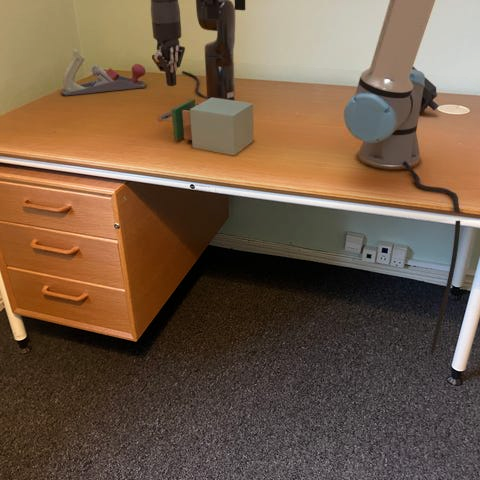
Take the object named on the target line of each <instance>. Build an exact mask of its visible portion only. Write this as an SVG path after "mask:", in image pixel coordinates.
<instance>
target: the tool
mask: <svg viewBox="0 0 480 480" xmlns="http://www.w3.org/2000/svg"><path fill="white" fill-rule="evenodd" d="M412 69H414V70H418V69H417V68H416V67H415V66H413V67H412ZM424 84H425V87H424V89H423V95H422V101H421V107H420V113H422V112H424V111H425V110H426V109H427V108H428V107H429V108H430V109H431V110H432V111H436V110H437V109H438V108H439V104H437V103H436V101H434V99H436V98H437V97H438V93H437V86H435V85H434V83H432V82H431V81H430V80H429V79H428V78H427V77H425V81H424Z"/></svg>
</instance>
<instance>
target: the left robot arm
mask: <svg viewBox="0 0 480 480" xmlns="http://www.w3.org/2000/svg"><path fill="white" fill-rule="evenodd" d="M218 4H219V19H208V17H207V0H195V9H196V10H195V11H196V18H197V22H198V25H199V26H200V28H201V29H203V30H205V31H211V32H216V39H215V40H213V41H210V42H207V43H206V44H205V45H204V48H203V49H204V65H205V84H206V86H205V87H206V95H205V96H204V95H203V94H202V93H201V92H200V91H198V90H199V85H200V80H199V78H198V77H197V76H196V75H194V74H193V73H190V72H187V71H184V70H182V71H181V73H182V74H184V75H187V76H190V77H193V78H194V79H195V80H196V86H195V89H194V90H195V93H196V94H197V95H198V96H199V97H201V98H204V99H206V100H208V99H210V98H211V97H212V98H219V99H226V100H233V101H236V99H235V98H236V97H235V94H236V93H235V90H236V89H235V57H234V56H235V55H234V52H235V51H234V50H235V49H234V48H235V44H236V21H237V19H236V10H235V4H234V2H233V1H232V0H218ZM150 17H151V18H150V19H151V28H152V37H153V39H154V40H155V41H156V52H155V54H152V55H151V59H152V61H153V62H154V64H155V65H156V67H157V68H158V70H159V71H160V72H164V73H165V81H166V85H167V86H168V87H174V86H176V85H177V70H178V68H180V67H181V65H182V62H183V59H184V54H185V51H186V48H185V46H181V44H180V40H179V39H181V38H182V23H181V9H180V4H179V0H150Z"/></svg>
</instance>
